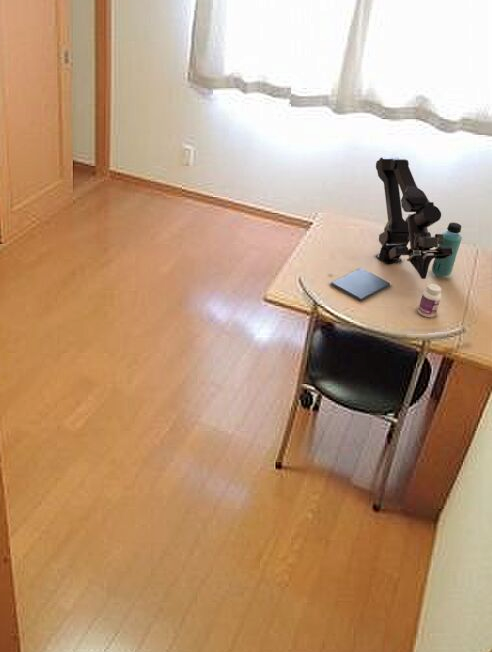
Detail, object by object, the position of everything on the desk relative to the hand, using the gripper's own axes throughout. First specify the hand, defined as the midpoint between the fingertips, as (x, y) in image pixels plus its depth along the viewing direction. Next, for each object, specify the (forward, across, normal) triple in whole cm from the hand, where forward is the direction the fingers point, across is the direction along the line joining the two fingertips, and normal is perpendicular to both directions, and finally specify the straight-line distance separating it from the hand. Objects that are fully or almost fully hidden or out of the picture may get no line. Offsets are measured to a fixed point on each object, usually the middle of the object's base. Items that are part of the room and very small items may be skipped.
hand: (423, 278), depth 208 cm
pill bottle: (+11, 0, +1) cm, 11 cm away
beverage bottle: (-5, +14, +16) cm, 22 cm away
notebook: (0, -16, +12) cm, 20 cm away
